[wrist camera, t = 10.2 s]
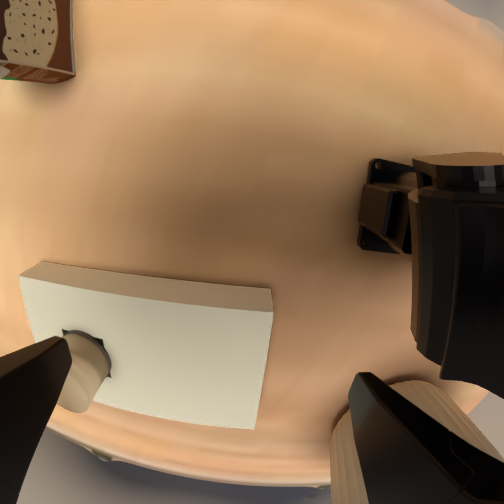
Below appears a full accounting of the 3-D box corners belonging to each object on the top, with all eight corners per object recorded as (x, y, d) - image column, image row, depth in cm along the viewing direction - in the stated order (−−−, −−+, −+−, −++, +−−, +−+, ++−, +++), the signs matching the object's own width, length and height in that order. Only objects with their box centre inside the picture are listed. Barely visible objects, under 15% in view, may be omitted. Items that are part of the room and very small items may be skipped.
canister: (304, 466, 29) (321, 602, 9) (307, 373, 23) (352, 608, 3) (427, 434, 28) (476, 543, 8) (468, 334, 23) (576, 467, 3)
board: (270, 288, 21) (273, 312, 18) (254, 401, 24) (254, 429, 21) (41, 261, 20) (18, 275, 17) (66, 366, 24) (51, 386, 21)
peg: (118, 319, 21) (78, 374, 14) (125, 364, 22) (96, 420, 15) (72, 310, 21) (27, 355, 14) (82, 353, 22) (46, 401, 15)
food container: (24, 22, 13) (-39, -2, 3) (72, -11, 13) (13, -53, 3) (26, 124, 17) (-62, 124, 7) (77, 91, 16) (-14, 66, 7)
